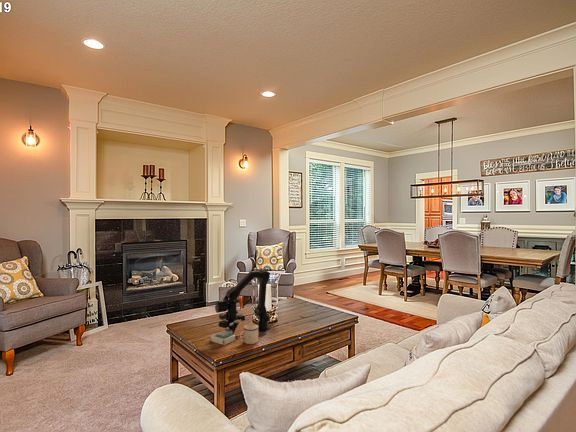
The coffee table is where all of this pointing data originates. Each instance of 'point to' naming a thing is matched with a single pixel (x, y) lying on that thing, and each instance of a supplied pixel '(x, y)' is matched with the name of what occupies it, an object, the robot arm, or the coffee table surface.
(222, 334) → the cabinet
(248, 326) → the white printed mug
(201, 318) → the coffee table surface
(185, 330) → the coffee table surface
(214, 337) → the cream flat base plank
